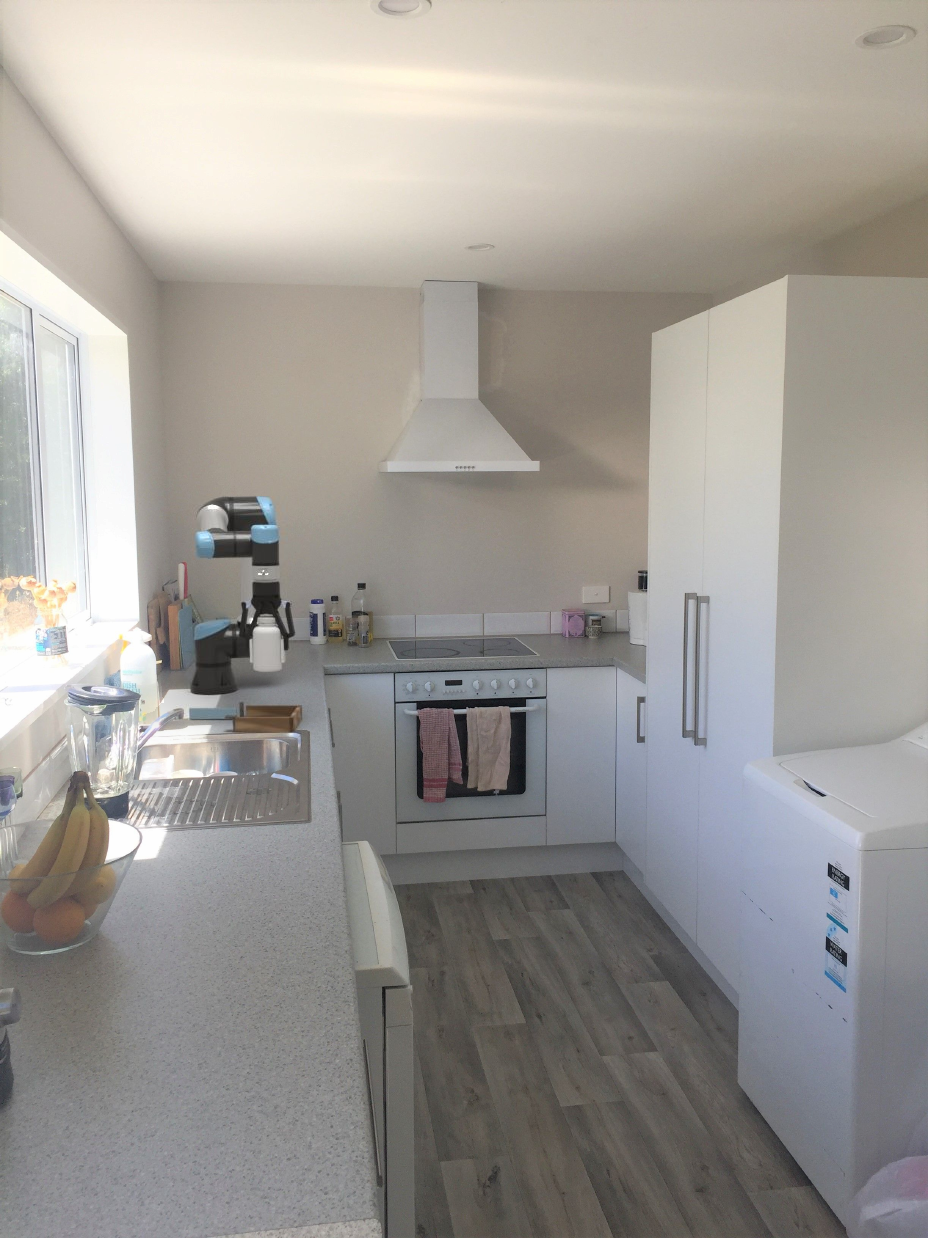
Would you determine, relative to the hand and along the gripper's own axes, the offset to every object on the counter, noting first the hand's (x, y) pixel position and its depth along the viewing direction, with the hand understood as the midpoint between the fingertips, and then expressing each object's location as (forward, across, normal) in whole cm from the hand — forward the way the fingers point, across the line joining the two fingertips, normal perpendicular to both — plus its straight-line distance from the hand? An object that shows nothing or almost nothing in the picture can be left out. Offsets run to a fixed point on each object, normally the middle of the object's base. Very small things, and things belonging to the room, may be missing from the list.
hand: (267, 661), depth 267 cm
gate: (+18, -18, +7) cm, 26 cm away
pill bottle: (+2, 0, 0) cm, 2 cm away
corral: (+18, -1, 0) cm, 18 cm away
